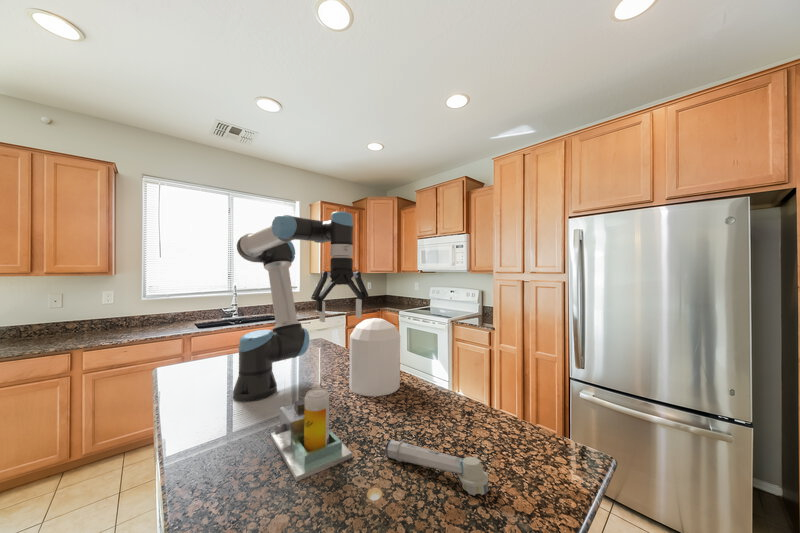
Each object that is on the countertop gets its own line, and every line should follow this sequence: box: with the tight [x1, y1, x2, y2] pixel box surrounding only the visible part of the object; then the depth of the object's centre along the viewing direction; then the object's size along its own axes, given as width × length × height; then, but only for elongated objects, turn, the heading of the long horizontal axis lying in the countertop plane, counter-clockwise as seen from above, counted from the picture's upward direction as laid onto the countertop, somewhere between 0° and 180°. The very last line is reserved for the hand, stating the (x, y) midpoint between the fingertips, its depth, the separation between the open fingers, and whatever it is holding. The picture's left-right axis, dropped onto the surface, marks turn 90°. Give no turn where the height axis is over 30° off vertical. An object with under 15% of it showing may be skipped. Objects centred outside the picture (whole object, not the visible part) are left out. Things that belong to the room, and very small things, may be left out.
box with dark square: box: [270, 398, 353, 483], centre depth 78 cm, size 22×14×10 cm, turn 38°
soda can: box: [304, 388, 330, 452], centre depth 74 cm, size 6×6×15 cm
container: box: [348, 317, 401, 397], centre depth 121 cm, size 21×21×28 cm
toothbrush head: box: [384, 439, 490, 496], centre depth 69 cm, size 5×7×25 cm
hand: (341, 319), depth 100 cm, fingers open, 13 cm apart
